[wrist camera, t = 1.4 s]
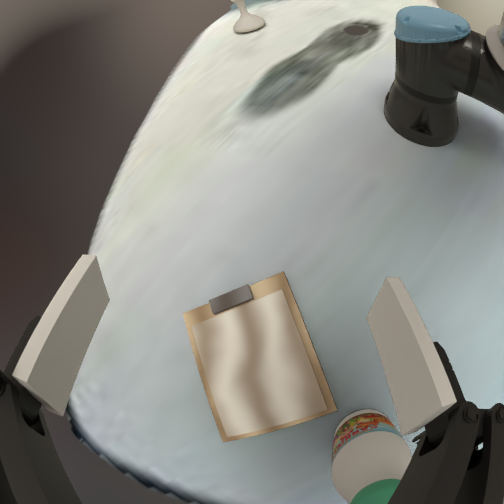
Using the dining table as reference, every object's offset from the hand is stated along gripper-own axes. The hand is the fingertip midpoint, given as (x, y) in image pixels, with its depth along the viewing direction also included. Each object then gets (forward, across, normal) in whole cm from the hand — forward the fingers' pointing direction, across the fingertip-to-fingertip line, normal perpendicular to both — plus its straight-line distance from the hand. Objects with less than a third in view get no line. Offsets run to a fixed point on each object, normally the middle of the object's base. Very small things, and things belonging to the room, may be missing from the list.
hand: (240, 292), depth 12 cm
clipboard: (+11, +3, -24) cm, 26 cm away
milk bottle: (0, +17, -25) cm, 30 cm away
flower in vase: (+94, -2, +30) cm, 98 cm away
